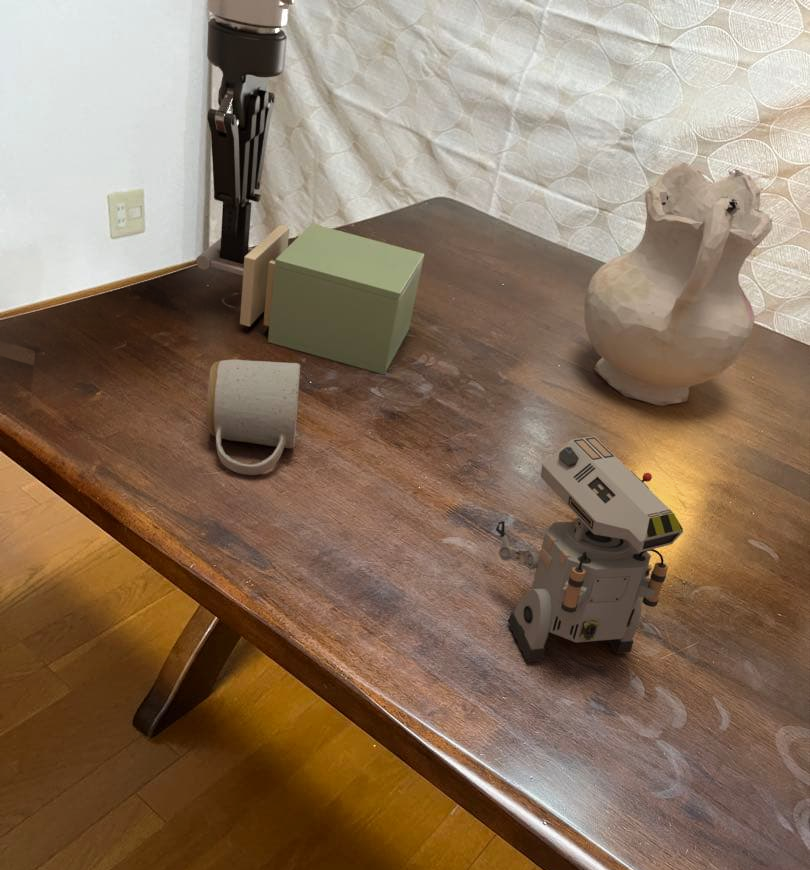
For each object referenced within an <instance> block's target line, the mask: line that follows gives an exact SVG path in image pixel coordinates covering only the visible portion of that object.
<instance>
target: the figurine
mask: <svg viewBox="0 0 810 870" xmlns="http://www.w3.org/2000/svg"><path fill="white" fill-rule="evenodd" d="M540 478H541V479H542V480H543V481H544V482H545V484H547V486H548V487H549V488H551V490H552V491H553V492H554V493H555V494H556V495H557V497H559V498H560V500H562V502H563V503H564V504H565V505H566V506H567V507H568V508H569V509H570V510H571V511H572V513H574V515H575V516H577V518H575V519H574V521H554V522H553V523H552V524H551V526H549V527H548V528H547V530H545V532H544V536H543V540H542V544H541V548H540V550H537V551H530V549H529V548H516V547H515V545H513V544H510V542H509V538H508V535H507V532H506V531H505V530H506V529H505V527H506V526H505V522H506V521H505V520H503V521H500V522H497V526H496V528H495V531H496V532H497V533H498V534H499V535H500V537H501V538H500V540H501V541H500V542H501V547H500V548H499V550H498V555H499V558H500V559H501V560H502V561H509V560H512V561H514V562H517V565H522V566H527V568H528V569H530V570H535V572H534V577H533V582H532V585H531V588H529V589H528V590H527V591H524V592H525V593H523V595H522V596H521V597H520V599H519V601H518V602H517V606H516V608H515V609H514V611H512V612H511V613H510V616H509V617H508V619H507V622H508V626H509V630H510V631H511V632H513V633H512V636H513V638H514V639H515V640H516V641H517V643H518V647H519V648H518V649H519V651H520V652H522V657H523V659H524V660H526V661H527V662H539V661H543V659H544V655H545V651H546V648H545V644H546V642H547V639H548V636H549V633H551V634H553V635H556V636H558V637H561V638H563V639H566V640H567V641H568V640H569V641H571V642H574V643H586V642H598V641H607V643H608V644H610V645H611V650H612V651H613V652H615V653H616V654H624V653H625V654H627V653H631V651H632V648H633V645H634V640H633V639H634V636H635V635H636V632H637V629H638V627H639V624H640V621H641V617H642V610H643V604H644V605H645V606H648V607H652V608H655V607H657V606H658V603H659V597H660V594H661V591H662V587H663V585H664V582H665V580H666V577H667V572H668V570H669V566H668V565H667V564H666V563H664V558H663V555H662V554H661V552H660V551H658V550H657V549H659V548H664V547H666V546H670V545H673V544H674V543H675V541H676V540H678V538H679V537H680V536H681V535H682V534H683V533H684V528H683V527H682V525H681V523H680V522H679V519H678V518H677V516H676V514H675V513H674V512H673V510H671V509H670V508H669V507H668V506H667V504H666V503H664V502H663V501H662V500H661V499H660V498H659V497H658V496H657V495H656V494H655V493H654V492H653V491H652V489H650V488H649V486H648V485H647V484H646V483H648V482H650V481H652V478H653V475H652V474H651V473H650V472H644V473H643V475H642V479H641V478H639V476H637V475H636V473H635V472H634V471H633V470H631V469H629V468H628V466H626V465H625V464H624V463H623V462H622V461H621V460H620V459H619V458H618V457H617V456H616V455H615V454H614V453H613V452H612V451H610V450H609V448H607V446H605V445H604V444H603V443H602V442H601V440H600V439H599V438H597V437H596V436H595V435H594V436H587V437H579V438H574V439H570V440H569V441H568V442H567V443H565V444H564V445H563V446H562V447H560V448H559V449H558V450H557V451H556V452H555V453H554V454H552V455H551V456H550V457H548V458H547V459H545V461H544V462H543V463H542V464H541V469H540ZM645 482H646V483H645ZM500 524H501V528H500ZM649 552H653V553H655V554H656V555H658V556H659V558H660V562H656V563H654V565H653V567H652V565H650V561H651V558H652V555H651V554H650V553H649ZM652 568H653V569H652ZM650 572H651V574H650Z"/></svg>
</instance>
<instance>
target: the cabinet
mask: <svg viewBox="0 0 810 870" xmlns="http://www.w3.org/2000/svg"><path fill="white" fill-rule="evenodd" d="M300 234H301V235H300V236H299V237H298V238H297V239H296V238H295V240H293V241H292V243H291V244H289V245H288V248H287V249H286V250H285V251H283V252H282V253H281V254H280V255H279V256H278V257H277V258H276V260H275V270H274V281H273V291H272V302H271V313H270V324H269V326H268V335H267V343H270V344H273V345H275V346H276V345H277V346H281V347H284V348H288V349H291V350H295V351H298V352H301V353H305V354H308V355H313V356H316V357H319V358H323V359H327V360H330V361H334V362H337V363H342V364H344V365H348V366H351V367H356V368H358V369H359V368H360V369H363V370H366V371H370V372H373V373H377V374H381V375H385V374H386V373H387V371H388V369H389V367H390V365H391V364H392V362H393V360H394V358H395V356H396V354H397V353H398V351H399V349H400V347H401V345H402V343H403V342H404V339H405V338H406V336H407V334H408V332H409V331H410V327H411V322H412V318H413V317H412V316H413V312H414V307H415V302H416V298H417V292H418V287H419V283H420V278H421V272H422V267H423V263H424V258H425V253H422V252H419V251H415V250H412V249H407V248H404V247H401V246H397V245H393V244H390V243H386V242H382V241H379V240H375V239H371V238H367V237H363V236H360V235H356V234H353V233H350V232H345V231H341V230H338V229H334V228H330V227H327V226H324V225H319V224H315V223H310V225H309V226H307V227H306V229H305V230H303V232H302V233H300Z"/></svg>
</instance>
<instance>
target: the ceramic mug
mask: <svg viewBox="0 0 810 870" xmlns="http://www.w3.org/2000/svg"><path fill="white" fill-rule="evenodd" d="M300 377H301V364H300V363H297V362H280V361H279V362H278V361H264V360H263V361H261V360H246V359H225V360H217V361H215V362H214V363H213V364H212V365H211V366H210V370H209V375H208V382H207V393H206V394H207V395H206V409H205V410H206V413H205V415H206V416H205V417H206V419H205V420H206V427H207V430H208V432H209V434H211V435H212V436H213V437H215V447H216V453H217V456H218V459H219V461H220V463H222V464H223V465H224V467H226V468H227V469H228V470H230V471H232V472H234V473H236V474H239V475H245V476H257V475H262V474H264V473H266V472H269V471H270V470H271V469H273V467H274V466H275V465H276V464H277V463H278V462H279V460H280V458H281V456H282V454H283V451H284V449H293V448H294V447H295V443H296V433H297V419H298V411H299V409H298V408H299V393H300V392H299V391H300ZM222 440H227V441H234V442H243V443H250V444H255V445H262V446H269V447H276V448H275V449H274V451H273V452H272V453H271V454H270V455H269V456H268V457H267V458H265V459H263V460H262V461H261V462H257V463H254V464H248V463H247V464H246V463H241V462H240V461H238V460H237V459H234V458H232V457H231V456H230V455H228V454H226V452H225V450H224V448H223V446H222Z"/></svg>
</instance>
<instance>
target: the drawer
mask: <svg viewBox="0 0 810 870" xmlns="http://www.w3.org/2000/svg"><path fill="white" fill-rule="evenodd" d="M301 234H302V233H297V235H295V240H296V239H297V238H298V237H299V236H300V235H301ZM289 237H290V227H289V226H287V225H283V224H279V225H278V226H277V227H276V228H275V229H273V231H271V232H270V233H269V234H268V235H267V236H266V237H265V238H264V239H262V240H261V242H259V243H258V244H257V245H256V246H254V248H253V247H249V246H248V254H247V255H246V256H245V257H244V264H243V267H240V266H236V265H232V264H228V263H225V262H221V261H218V260H220V259H221V258H220V248H221V237H220V238H219V239H218V240H216V241H215V242H214V243H213V244H211V245H210V246H209V247H208V248H207V249H205V250H204V251H202V252H201V253H200V254H199V255H197V257H196V259H195V264H196V266H197V267H198V268H199V269H200V270H203V271H206V270H208V269H209V268H214V269H216V270H217V269H218V270H220V271H225V272H228V273H232V274H236V275H240V276H242V286H241V287H242V288H241V300H240V301H241V302H240V314H239V315H240V316H239V325H242V326H245V327H251V326H252V325H253V324H254V323H255V322H256V321H257V319H259V317H260V316H262V314H263V313H264V314H263V326H265V327H269V324H270V313H271V302H272V291H273V281H274V270H275V260H276V258H277V257H278V256H279V255H280V254H281V253H282V252H283V251H285V250H286V249H287V248H288V247H289Z"/></svg>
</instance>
